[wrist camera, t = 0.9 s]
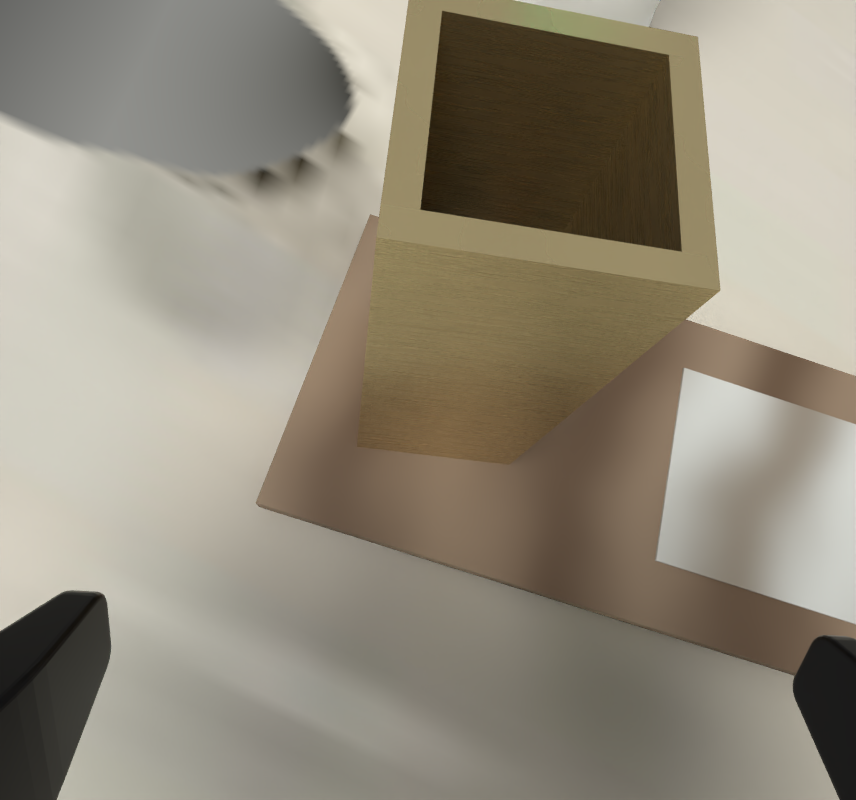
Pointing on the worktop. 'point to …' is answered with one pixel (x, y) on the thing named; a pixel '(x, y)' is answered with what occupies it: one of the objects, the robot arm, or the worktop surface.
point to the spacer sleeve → (530, 222)
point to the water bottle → (607, 8)
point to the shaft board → (615, 489)
